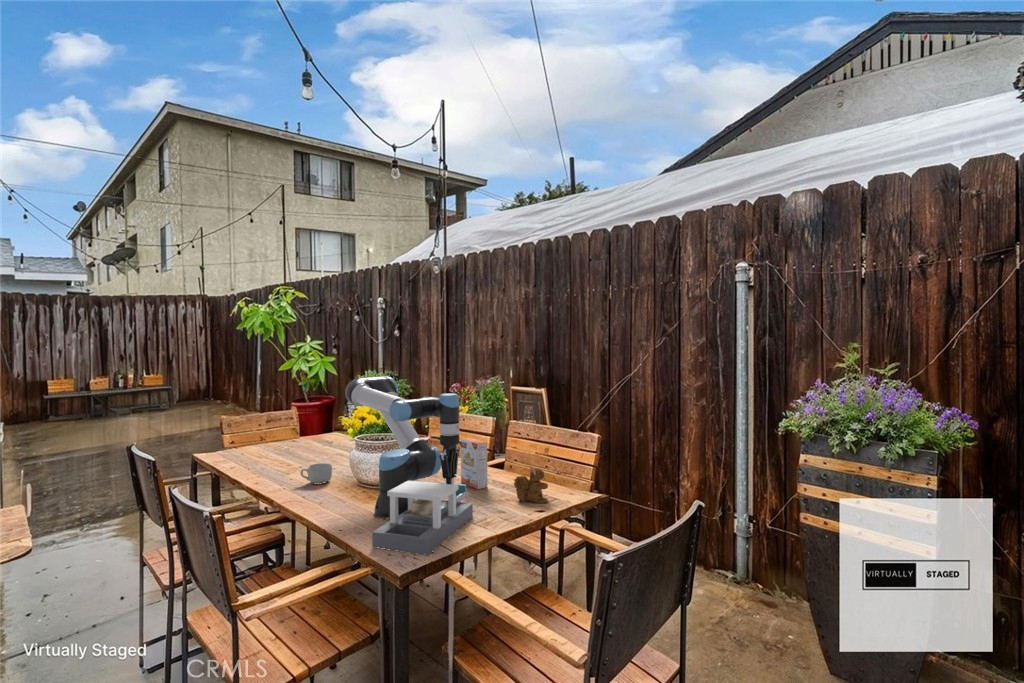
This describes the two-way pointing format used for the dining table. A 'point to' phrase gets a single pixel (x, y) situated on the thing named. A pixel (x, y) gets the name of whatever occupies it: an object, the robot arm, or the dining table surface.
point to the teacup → (318, 472)
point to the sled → (429, 519)
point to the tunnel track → (416, 534)
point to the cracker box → (474, 463)
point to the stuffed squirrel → (531, 486)
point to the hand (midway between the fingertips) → (450, 494)
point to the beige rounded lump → (422, 507)
